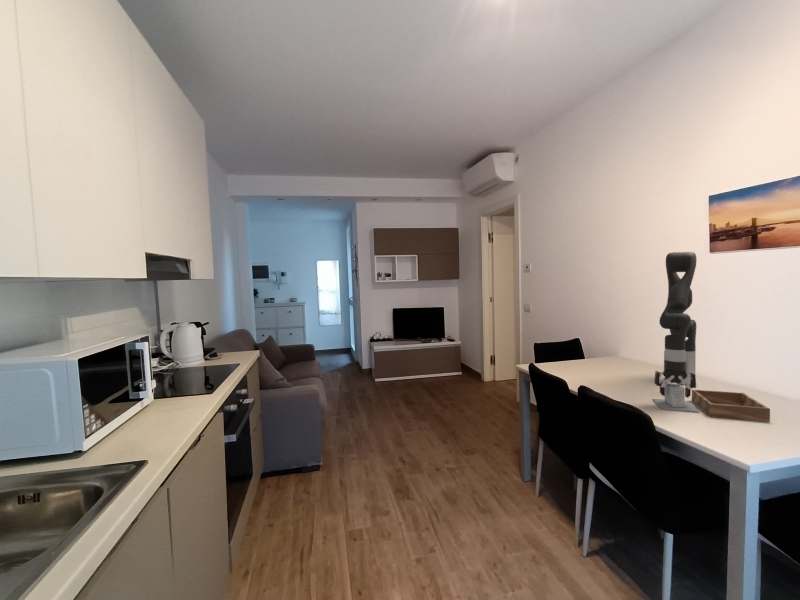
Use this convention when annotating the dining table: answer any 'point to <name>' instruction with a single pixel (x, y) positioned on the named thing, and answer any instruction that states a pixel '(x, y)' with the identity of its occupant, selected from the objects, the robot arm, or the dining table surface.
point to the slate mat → (666, 406)
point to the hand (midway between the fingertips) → (674, 396)
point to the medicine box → (674, 395)
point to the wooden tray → (746, 411)
